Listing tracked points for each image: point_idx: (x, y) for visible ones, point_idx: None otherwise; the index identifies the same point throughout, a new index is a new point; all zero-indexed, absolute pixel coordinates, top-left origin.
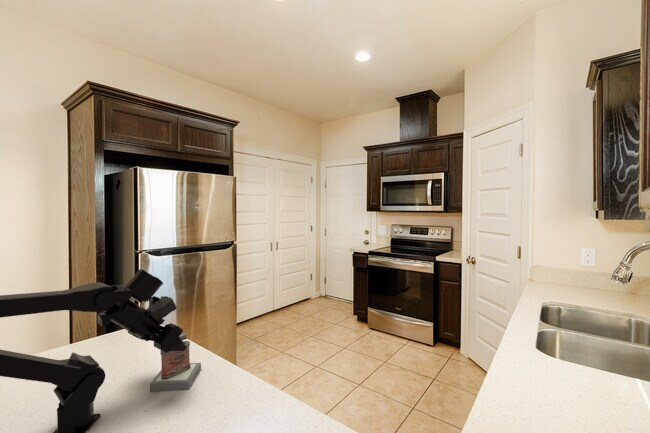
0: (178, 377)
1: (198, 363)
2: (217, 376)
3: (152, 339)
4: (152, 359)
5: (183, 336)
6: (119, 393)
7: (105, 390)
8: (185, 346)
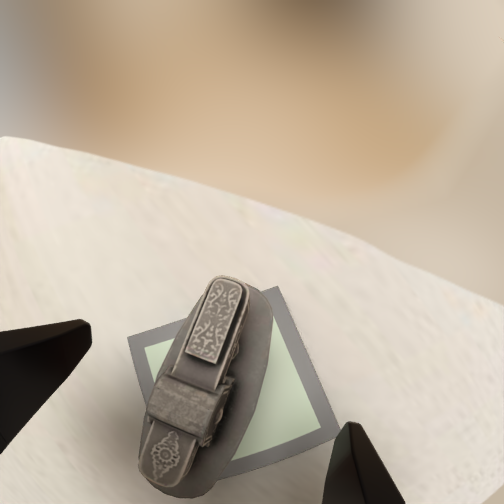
0: (271, 426)
1: (272, 294)
2: (377, 319)
3: (17, 423)
4: (49, 278)
5: (233, 322)
6: (93, 491)
7: (44, 471)
8: (366, 441)
